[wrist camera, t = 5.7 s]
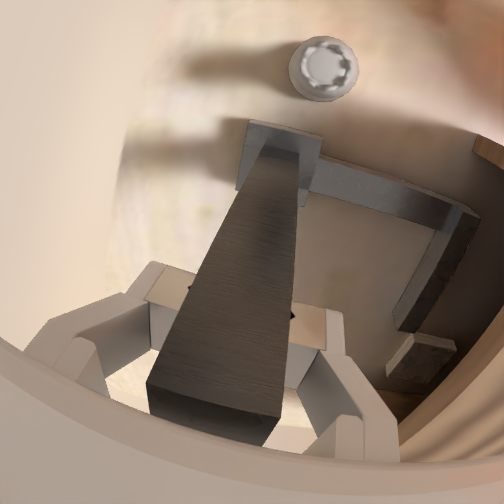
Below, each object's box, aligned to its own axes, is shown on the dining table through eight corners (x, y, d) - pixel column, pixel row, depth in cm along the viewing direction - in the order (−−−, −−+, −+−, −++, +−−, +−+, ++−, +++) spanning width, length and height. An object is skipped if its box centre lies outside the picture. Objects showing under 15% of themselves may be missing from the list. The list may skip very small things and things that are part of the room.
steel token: (385, 363, 32) (386, 377, 31) (411, 328, 29) (414, 341, 27) (425, 370, 32) (427, 383, 30) (452, 337, 29) (456, 350, 27)
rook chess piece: (355, 47, 17) (378, 29, 10) (349, 106, 20) (370, 119, 13) (290, 39, 18) (279, 17, 11) (286, 98, 20) (274, 107, 13)
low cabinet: (342, 391, 35) (339, 486, 24) (478, 134, 18) (589, 199, 7) (459, 404, 34) (473, 479, 23) (592, 215, 17) (658, 284, 6)
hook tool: (222, 272, 28) (142, 490, 12) (252, 118, 21) (68, 308, 4) (409, 315, 28) (449, 511, 11) (473, 192, 20) (622, 383, 4)
